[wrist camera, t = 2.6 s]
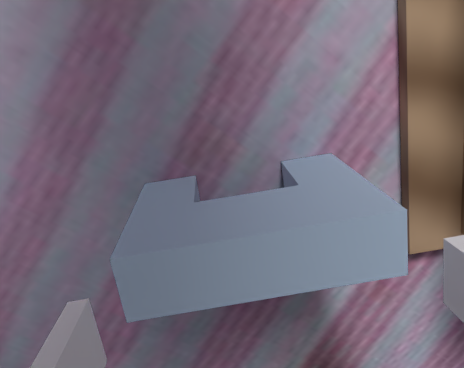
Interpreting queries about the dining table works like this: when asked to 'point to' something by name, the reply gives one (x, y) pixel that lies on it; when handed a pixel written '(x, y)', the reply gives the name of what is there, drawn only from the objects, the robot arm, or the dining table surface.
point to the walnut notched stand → (432, 120)
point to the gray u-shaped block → (257, 240)
